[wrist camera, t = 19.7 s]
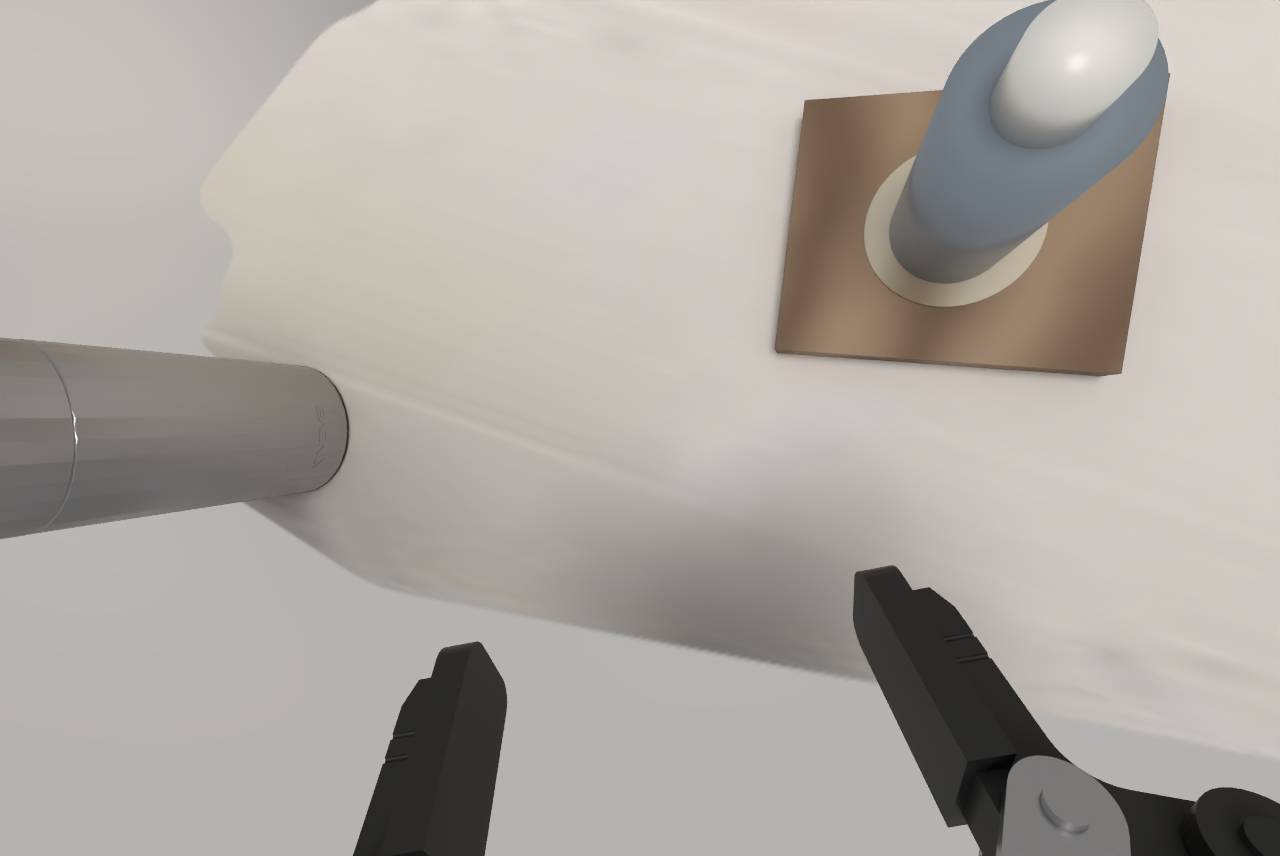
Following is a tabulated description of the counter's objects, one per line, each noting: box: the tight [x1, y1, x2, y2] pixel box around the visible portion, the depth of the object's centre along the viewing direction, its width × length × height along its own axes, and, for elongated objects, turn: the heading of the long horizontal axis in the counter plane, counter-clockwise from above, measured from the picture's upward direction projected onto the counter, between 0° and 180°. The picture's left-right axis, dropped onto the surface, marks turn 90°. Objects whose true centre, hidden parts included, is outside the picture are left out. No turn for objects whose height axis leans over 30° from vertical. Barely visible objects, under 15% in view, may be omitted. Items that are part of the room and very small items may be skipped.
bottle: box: [889, 0, 1169, 284], centre depth 17 cm, size 5×5×12 cm
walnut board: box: [775, 73, 1170, 376], centre depth 24 cm, size 14×12×2 cm
